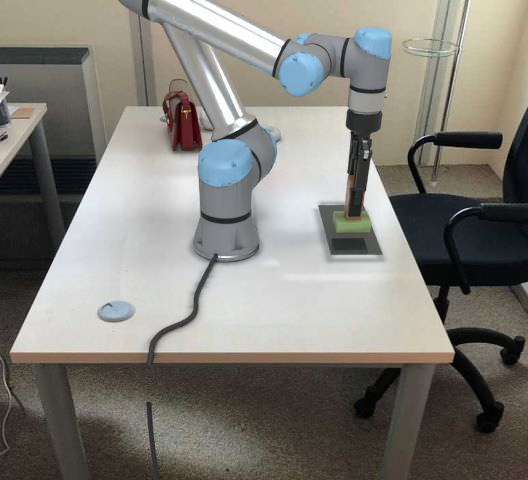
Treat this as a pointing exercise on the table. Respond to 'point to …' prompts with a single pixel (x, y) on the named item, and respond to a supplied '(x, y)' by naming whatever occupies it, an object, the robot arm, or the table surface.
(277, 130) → the donut
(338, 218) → the scrub brush
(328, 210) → the slate
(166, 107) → the handbag
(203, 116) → the white rounded ball
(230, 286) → the table surface
